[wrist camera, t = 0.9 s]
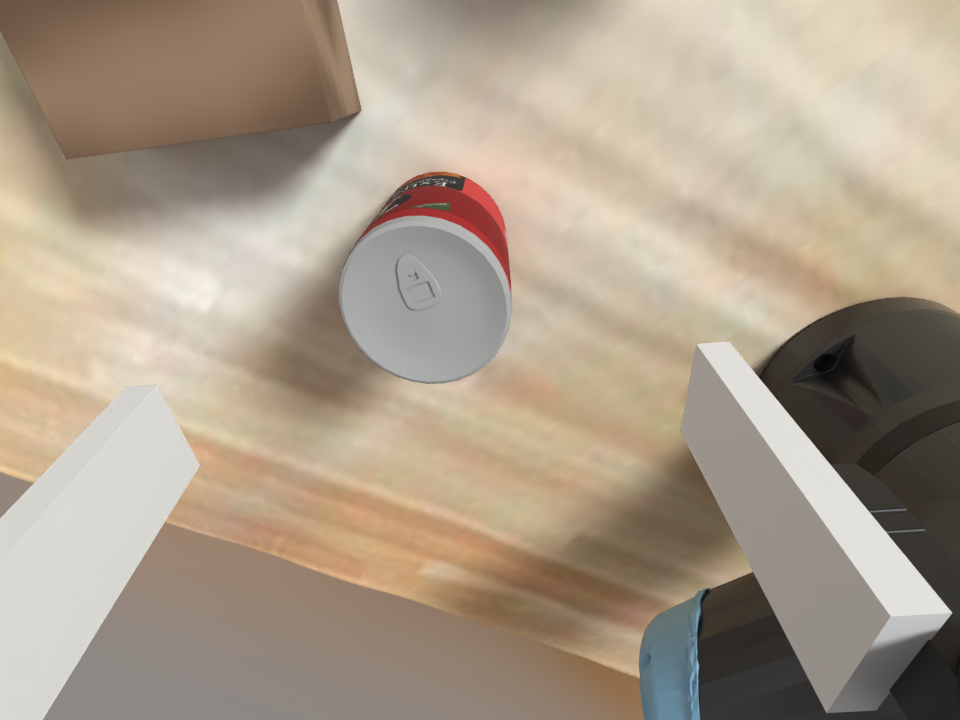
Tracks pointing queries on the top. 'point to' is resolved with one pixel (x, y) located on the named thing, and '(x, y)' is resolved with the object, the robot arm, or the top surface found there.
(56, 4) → the walnut stand
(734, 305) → the top surface
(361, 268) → the canned food
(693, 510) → the top surface
